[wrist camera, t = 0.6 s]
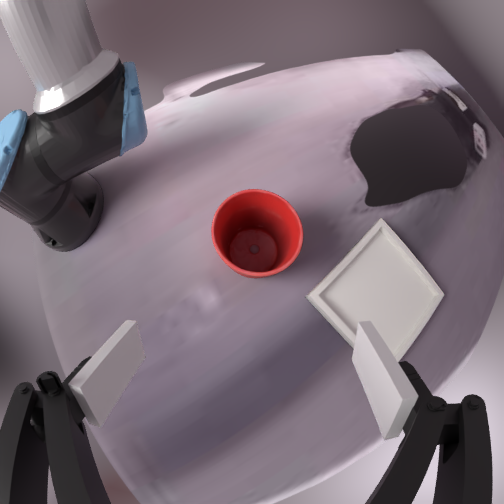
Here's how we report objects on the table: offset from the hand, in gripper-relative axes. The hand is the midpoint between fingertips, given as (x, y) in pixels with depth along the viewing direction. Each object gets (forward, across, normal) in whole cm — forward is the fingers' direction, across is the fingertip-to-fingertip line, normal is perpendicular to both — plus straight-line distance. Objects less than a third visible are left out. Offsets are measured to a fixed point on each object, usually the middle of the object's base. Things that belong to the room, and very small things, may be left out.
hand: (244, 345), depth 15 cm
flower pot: (+26, -1, -1) cm, 26 cm away
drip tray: (+24, +19, -8) cm, 32 cm away
